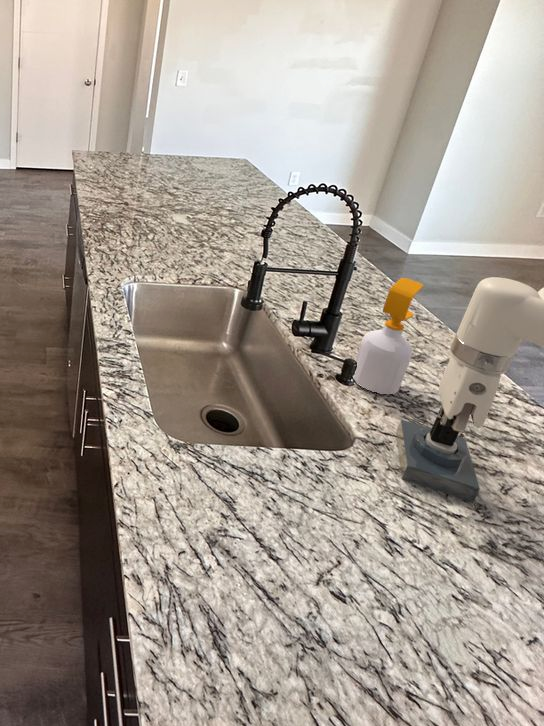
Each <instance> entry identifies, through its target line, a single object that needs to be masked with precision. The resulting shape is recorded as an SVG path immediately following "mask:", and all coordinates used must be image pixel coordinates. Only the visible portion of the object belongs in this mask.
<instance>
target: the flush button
mask: <svg viewBox="0 0 544 726" xmlns="http://www.w3.org/2000/svg"><path fill="white" fill-rule="evenodd" d="M424 441H425V442H426V443H427V444H428V445H429V446H430V447H432V448H434V449H435V450H437V451H439V452H442V453H445V454H455V452H456V450H457V444H456V443H455V442H454V445H453V446H448V445H445V444H441V443H438V442H435V441H432V440H431V436H430V433H428V434H427V436H426V438H425V440H424Z"/></svg>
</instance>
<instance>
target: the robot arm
mask: <svg viewBox="0 0 544 726" xmlns="http://www.w3.org/2000/svg"><path fill="white" fill-rule="evenodd" d="M475 287H476V288H475V289H474V291H473V294H472V296H471V299H470V301H469V303H468V305H467V308H466V310H465V312H464V314H463V317H462V320H461V322H460V324H459V327H458V329H457V330H456V334H455V336H454V338H453V341H452V343H451V345H450V348H449V350H448V353H449V355H450V359H449V361H448V363H447V366H446V367H445V370H444V371H443V374H442V376H441V379H440V382H439V385H438V393H439V397H440V398H439V399H440V401H441V404H440V407H439V409H438V411H437V412H438V413H437V416H436V417H435V420H434V422H433V424H432V427H431V428H432V429H431V431H430V436H431V440H432V441H435V442H438V443H441V444H445V445H448V446H453V445H454V442H455V440H456V438H457V436H459V434H460V433H461V434H464V433H465V431H466V428H467V426H468V422H469V419H470V417H471V420H472V421H471V422H472V425H473V426H474V427H476V428H477V429H478V428H479V429H480V428H483V426H484V424H485V422H486V420H487V417H488V415H489V413H490V410H491V407H492V405H493V403H494V400H495V397H496V395H497V392H498V388H499V385H500V381H501V375H504V374H505V373H507V371H508V370H509V367H510V365H511V363H512V361H513V359H514V358H515V355H516V353H517V351H518V349H519V348H520V345H521V343H522V341H523V340H524V341H528V342H530V343H533V344H535V345H537V346H539V347H541V348H544V286H543V287H542V288H541V289H540V290H538V291H537V290H536V289H535V288H534V287H532V286H530V285H528V284H526V283H523V282H520V281H518V280H515V279H512V278H511V279H510V278H507V277H506V278H505V277H500V276H499V277H497V276H492V277H486V278H484V279H481V281H479V283H477V285H476V286H475Z"/></svg>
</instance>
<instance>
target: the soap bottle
mask: <svg viewBox="0 0 544 726" xmlns="http://www.w3.org/2000/svg"><path fill="white" fill-rule="evenodd" d="M423 288H424V284H422V283H421V282H418V281H415V280H413V279H410V278H407V277H400V278H399V279H398V280H397V281H396V282H395V283H394V284H392V285H391V287H390V289H389V291H388V293H387V296H386V299H385V301H384V304H383V308H382V312H383V313H385V314H388V315H389V317H390V318H391V319H387V320H386V321H385V322H384V325H383V328H382V329H374V330H370V331H367V332H366V333H365V334H364V335H363V337H362V340H361V343H360V346H359V349H358V352H357V354H356V358H355V361H356V362H357V369H356V371H355V377H354V379H355V381H356V382H357V383H358V384H360V385H361V386H363V387H364V388H367V389H369V390H371V391H372V392H377V393H380V394H393V395H395V394H397V393H398V392H399V391H400V388H401V385H402V383H403V380H404V377H405V375H406V372H407V369H408V367H409V365H410V362H411V360H412V357H413V346H412V345H411V343H410V341H409V340H408V339H406V337H404V336H403V335H402V334H403V331H404V329H405V325H404V324H402V322H404V321H405V322H406V321H407V320H409V319H411V318H412V317H414V315H415V314H414V312H412V311H410V310H409V308H410V306H411V304H412V301H413V299H414V298H415V296H416V295H417V294H418V293H419V292H420V291H421V290H422V289H423ZM355 361H354V362H355ZM372 392H371V393H372Z"/></svg>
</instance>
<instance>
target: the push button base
mask: <svg viewBox="0 0 544 726" xmlns="http://www.w3.org/2000/svg"><path fill="white" fill-rule="evenodd" d="M431 429H432V427H429V426H425V425H422V424H418V423H415V422H411V421H408V420H406V419H405V420H404V419H401V418H400V420H399V423H398V426H397V428H396V430H395V437H396V436H397V438H396V446H397V445H398V446H397V453H398V460H399V468H400V477H401V480H403V481H406V482H409V483H412V484H416V485H418V486H420V487H424V488H427V489H430V490H432V491H436V492H439V493H441V494H445V495H448V496H451V497H454V498H457V499H460V500H463V501H466V502H468V503H472V504H473V503H474V502H475V500H476V499H477V496H478V494H479V492H480V490H481V488H480V487H481V486H480V484H479V480H478V477H477V474H476V471H475V468H474V464H473V463H474V462H473V460H472V457H471V453H470V450H469V447H468V443H467V439H466V437H462V436H459V435H458V436H457V438H456V440H455V443H456V444H457V450H456V452H455V454H445V453H442V452H439V451H437V450H435V449H434V448H432V447H430V446H429V445H428V444H427V443H426V442H425V441H424V440H425V438H426V436H427V434H428V433H430V431H431Z"/></svg>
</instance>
